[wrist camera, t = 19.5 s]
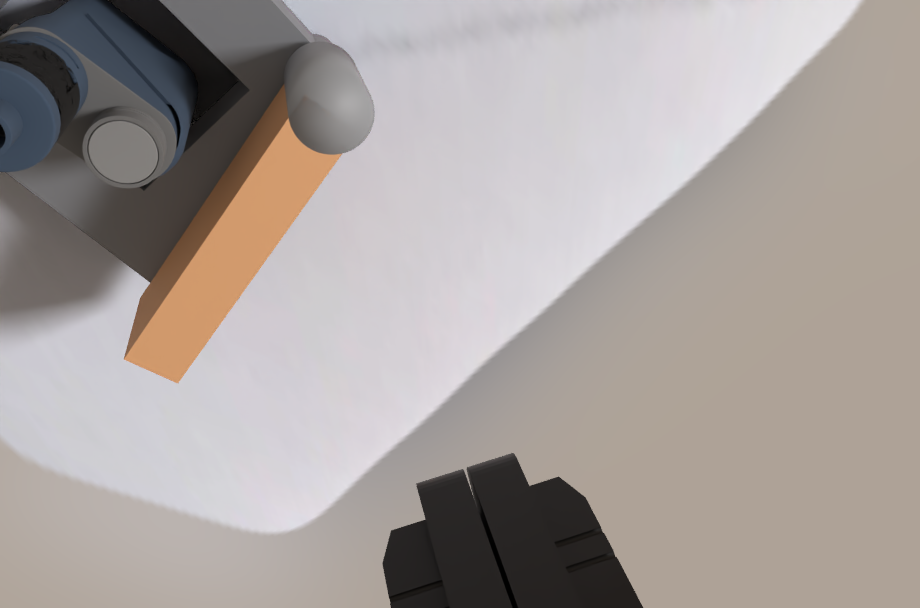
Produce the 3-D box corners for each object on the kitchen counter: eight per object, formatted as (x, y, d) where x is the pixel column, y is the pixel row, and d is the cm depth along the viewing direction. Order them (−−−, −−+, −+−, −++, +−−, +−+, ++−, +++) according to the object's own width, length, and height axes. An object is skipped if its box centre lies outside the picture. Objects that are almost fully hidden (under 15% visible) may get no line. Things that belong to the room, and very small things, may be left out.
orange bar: (310, 25, 24) (320, 51, 21) (373, 71, 25) (390, 103, 22) (132, 294, 27) (114, 355, 24) (194, 324, 28) (186, 387, 25)
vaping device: (77, -30, 25) (-45, 42, 15) (213, 79, 28) (189, 204, 18) (31, 31, 26) (-115, 140, 16) (169, 133, 28) (121, 284, 18)
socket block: (-143, 8, 24) (-192, 25, 22) (80, -237, 23) (56, -251, 20) (165, 252, 30) (156, 290, 28) (359, 73, 29) (369, 95, 26)
